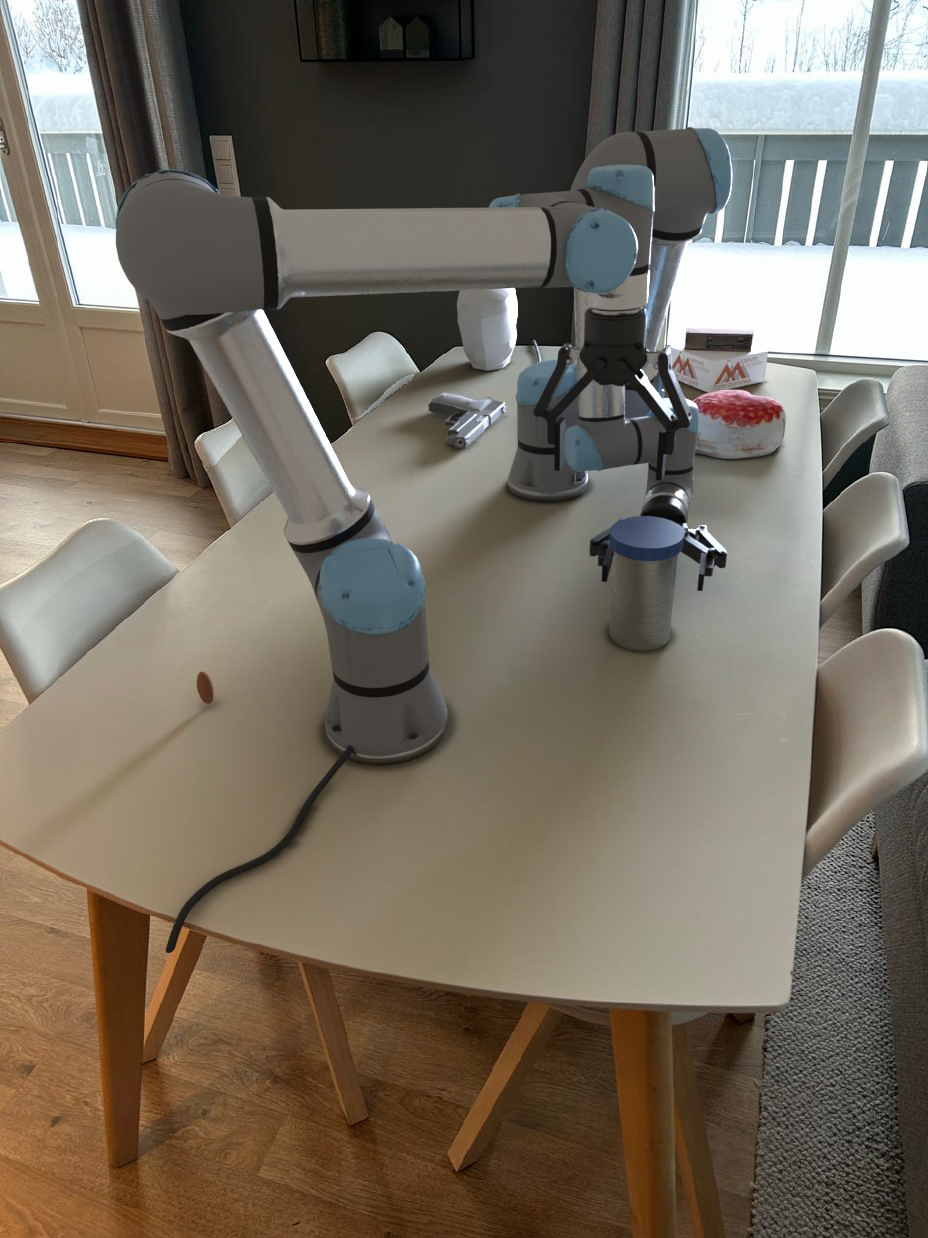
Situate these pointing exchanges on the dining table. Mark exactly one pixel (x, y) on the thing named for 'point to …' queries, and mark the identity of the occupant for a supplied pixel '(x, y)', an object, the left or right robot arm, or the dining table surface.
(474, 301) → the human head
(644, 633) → the jar
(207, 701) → the brown oval piece
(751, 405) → the cake
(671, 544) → the lid
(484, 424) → the pistol
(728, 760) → the dining table surface
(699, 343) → the white cardboard box
